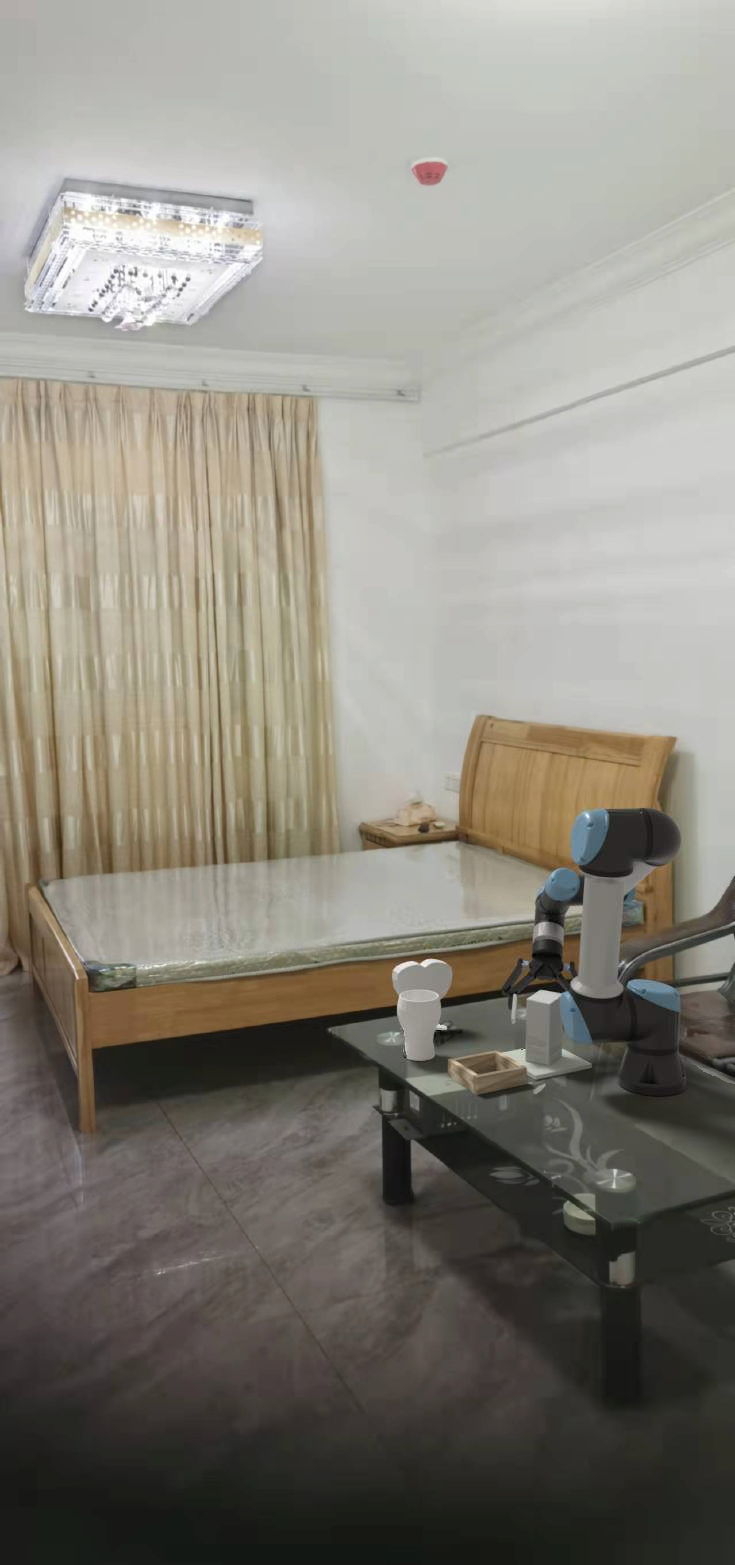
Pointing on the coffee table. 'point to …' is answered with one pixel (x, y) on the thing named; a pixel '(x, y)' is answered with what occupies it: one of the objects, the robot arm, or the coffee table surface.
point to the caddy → (504, 1078)
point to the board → (558, 1067)
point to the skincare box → (543, 1028)
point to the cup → (419, 1022)
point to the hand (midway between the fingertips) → (541, 1023)
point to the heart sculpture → (423, 978)
